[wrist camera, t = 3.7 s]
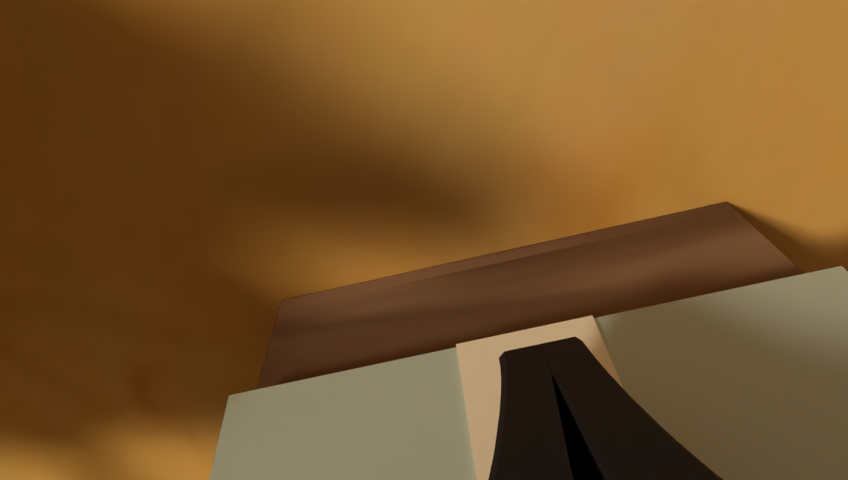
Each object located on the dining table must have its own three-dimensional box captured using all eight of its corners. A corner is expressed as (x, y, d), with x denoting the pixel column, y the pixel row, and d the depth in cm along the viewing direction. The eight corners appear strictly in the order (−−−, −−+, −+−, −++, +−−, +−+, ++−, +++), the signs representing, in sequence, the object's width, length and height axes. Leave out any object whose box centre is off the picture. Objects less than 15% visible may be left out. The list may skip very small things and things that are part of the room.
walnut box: (727, 436, 24) (802, 558, 19) (366, 506, 25) (360, 638, 20) (726, 201, 19) (826, 292, 15) (281, 300, 20) (250, 413, 16)
